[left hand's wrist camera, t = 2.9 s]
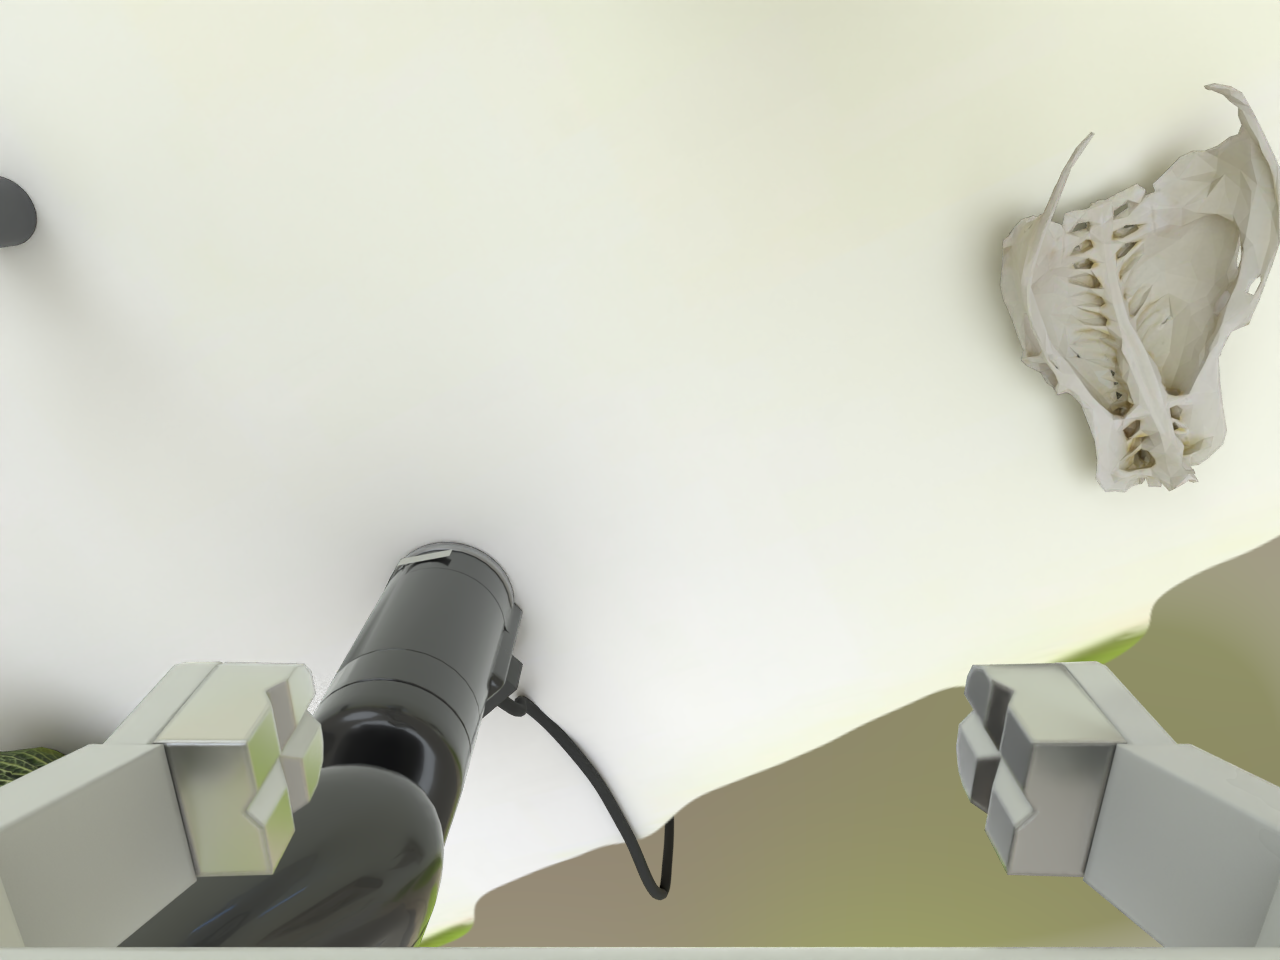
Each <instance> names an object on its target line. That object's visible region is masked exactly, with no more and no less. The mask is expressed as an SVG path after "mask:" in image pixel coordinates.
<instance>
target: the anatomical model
mask: <svg viewBox="0 0 1280 960" xmlns="http://www.w3.org/2000/svg"><path fill="white" fill-rule="evenodd" d="M1204 87H1205V88H1206V89H1208V90H1213V91H1215V92H1218V93H1220V94H1223V95H1224V96H1225V97H1226V98H1227V99H1228V100H1229V101H1230V102H1231V103H1233V104H1234V105H1236V106H1237V107H1238V116H1239V119H1240V122H1241V124H1242V125H1241V128H1240V130H1239V133H1238V135H1235V136H1231V137H1229V138H1228V139H1226V140H1225V141H1224V142H1222V143H1221V144H1219V145H1218V146H1216V147H1213V148H1211V149H1208V150H1206V151H1191V152H1189V153H1187V154H1185V155H1183V156H1181V157H1179V158H1178V159H1177V160H1176V161H1175V162H1174V163H1173V165H1172V166H1171V167H1170V168H1169V169H1168V170H1167V171H1166V172H1165V173H1163V174H1162V175H1161V176H1160V177H1159V178H1158V179H1157V180H1156V181H1155V182H1154V183H1153V187H1154V190H1155V192H1153V193H1150V194H1147V195H1145V191H1146V190H1145V189H1144V188H1142V187H1141V186H1139V185H1138V184H1135V185H1133V186H1131V187H1129V188H1127V189H1125V190H1123V191H1121V192H1119V193H1117V194H1115V195H1113V196H1111V197H1110V198H1108V199H1106V200H1098V201H1097V202H1095V203H1091V204H1090V206H1089V208H1087V209H1083V210H1075V211H1070V212H1068V213H1065V215H1064V220H1063V224H1062V225H1061V224H1058V223H1055V222H1052V221H1051V219H1052V217H1053V214H1054V212H1055V209H1056V206H1057V204H1058V201H1059V198H1060V196H1061V193H1062V191H1063V188H1064V186H1065V183H1066V180H1067V178H1068V175H1069V173H1070V170H1071V168H1072V167H1073V165H1074V164H1075V162H1076V161H1077V159H1078V158H1079V156H1080V155H1081V153H1082V152H1083V150H1084V149H1085V147H1086V146H1087V144H1088V143H1089V141H1090V140H1091V138H1092V137H1093V135H1094V133H1092V132H1091V133H1090V134H1089V135H1088V136H1087V137H1086V138H1085V139H1084V140H1083V141H1082V142H1081V143H1080V144H1079V145H1078V147H1077V148H1076V149H1075V151H1074V152H1073V154H1072V156H1071V157H1070V159H1069V161H1068V163H1067V164H1066V166H1065V168H1064V169H1063V171H1062V173H1061V175H1060V178H1059V180H1058V182H1057V184H1056V186H1055V187H1054V190H1053V192H1052V195H1051V197H1050V200H1049V202H1048V204H1047V207H1046V209H1045V211H1044V213H1043V214H1042V215H1041V214H1040V215H1039V216H1038V217H1036V216H1030V217H1027V218H1024V219H1021V220H1020V221H1019V223H1018V224H1017V225H1016V226H1015V227H1014V228H1013V230H1012V231H1011V232H1010V235H1009V236H1008V237H1007V238H1006V239H1004V240H1003V253H1002V274H1001V280H1000V287H1001V291H1002V296H1003V300H1004V302H1005V305H1006V307H1007V309H1008V311H1009V314H1010V316H1011V319H1012V321H1013V324H1014V327H1015V330H1016V332H1017V335H1018V338H1019V341H1020V344H1021V346H1022V349H1023V353H1022V358H1021V361H1022V362H1023V363H1024V364H1025V365H1027V366H1028V367H1030V368H1033V369H1035V370H1037V371H1039V372H1040V373H1041V374H1042V376H1043V377H1044V379H1045V381H1046V382H1047V383H1048V384H1049V385H1051V386H1052V387H1053V388H1054V390H1055V392H1056V394H1057V395H1059V394H1062V393H1065V392H1066V393H1069V394H1071V395H1072V396H1073V397H1074V398H1075V399H1076V400H1077V401H1078V402H1079V403H1080V404H1081V406H1082V409H1083V411H1084V414H1085V417H1086V419H1087V422H1088V424H1089V427H1090V430H1091V432H1092V435H1093V438H1094V441H1095V449H1096V457H1097V470H1096V480H1097V482H1098V483H1099V484H1100V486H1101V487H1102V488H1103V490H1104V491H1105V492H1110V491H1118V492H1126V491H1127V490H1128V489H1129V488H1130V487H1131V486H1134V485H1137V484H1142V483H1143V481H1144V480H1145V478H1146V479H1147V483H1148V486H1151V487H1161V485H1162V484H1163V485H1164V486H1165V487H1166V488H1167V489H1168V490H1169V491H1171V490H1173V489H1175V488H1177V487H1179V486H1180V485H1182V484H1184V483H1186V482H1188V481H1190V482H1193V483H1194V482H1198V480H1197V478H1196V477H1195V475H1194V474H1195V472H1194V470H1193V469H1192V468H1191V465H1199V464H1200V463H1202V462H1203V461H1205V460H1206V459H1208V458H1209V457H1210V456H1211V455H1212V454H1213V453H1214V452H1215V451H1216V450H1218V449H1219V448H1220V447H1221V446H1222V445H1223V443H1224V439H1225V436H1226V432H1227V428H1226V422H1225V416H1224V410H1223V403H1222V394H1221V385H1220V374H1219V356H1220V355H1221V351H1222V349H1223V347H1224V345H1225V343H1226V341H1227V339H1228V337H1229V335H1230V333H1231V332H1232V331H1234V330H1237V329H1239V328H1241V327H1243V326H1246V325H1248V324H1249V323H1250V320H1251V318H1252V315H1253V313H1254V310H1255V308H1256V306H1257V304H1258V302H1259V299H1260V297H1261V294H1262V291H1263V289H1264V286H1265V283H1266V280H1267V278H1268V275H1269V272H1270V270H1271V267H1272V264H1273V261H1274V258H1275V255H1276V252H1277V249H1278V246H1279V244H1280V166H1279V165H1278V163H1277V160H1276V158H1275V156H1274V154H1273V152H1272V150H1271V148H1270V146H1269V143H1268V141H1267V139H1266V137H1265V135H1264V133H1263V131H1262V129H1261V127H1260V125H1259V123H1258V121H1257V119H1256V117H1255V115H1254V113H1253V111H1252V109H1251V107H1250V106H1249V104H1248V102H1247V100H1246V99H1245V97H1244V95H1243V94H1242V92H1240V91H1238V90H1236V89H1235V88H1233V87H1231V86H1226V85H1221V84H1215V83H1213V84H1210V85H1206V86H1204ZM1126 203H1127V204H1128V208H1126V209H1125V210H1123V211H1122V212H1121V213H1119V214H1118V215H1116V216H1114V210H1116V209H1118V208H1119V207H1121V206H1123V205H1125V204H1126ZM1084 222H1086V226H1087V228H1084V229H1081V230H1078V231H1074V232H1072V231H1073V230H1074V228H1075V227H1076V225H1077V224H1078V223H1084ZM1125 225H1133V226H1131V227H1127V228H1124V226H1125ZM1240 242H1241V261H1240V264H1239V267H1237V257H1238V252H1239V247H1240ZM1126 243H1127V244H1126ZM1077 246H1078V247H1077ZM1075 247H1077V248H1075ZM1259 276H1260V277H1261V282H1260V284H1259V286H1258V288H1257V290H1256V292H1255V294H1254V295H1252V294H1249V293H1248V291H1249V288H1250V285H1251V283H1252V282H1253V281H1254V280H1255V279H1256V278H1258V277H1259ZM1166 320H1167V321H1166ZM1165 321H1166V323H1164V322H1165ZM1162 323H1164V324H1162ZM1161 324H1162V325H1161ZM1077 355H1079V357H1080V358H1078V357H1077ZM1111 371H1113V372H1115V373H1114V376H1112V373H1111ZM1114 382H1116V383H1118V384H1116V385H1115V384H1114ZM1116 392H1118V393H1120V394H1122V396H1121V397H1120V398H1119V399H1118V400H1117V395H1116Z"/></svg>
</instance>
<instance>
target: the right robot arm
mask: <svg viewBox="0 0 1280 960" xmlns="http://www.w3.org/2000/svg"><path fill="white" fill-rule="evenodd" d="M521 617H522V610H521V609H520V608H518V607H517V606H516V605H515V603H514V596H513V590H512V587H511V584H510V582H509V579H508V577H507V576H506V574H505V572H504V571H503V570H502V568H501V567H500V566H499V565H498V564H497V563H496V562H495V561H494V560H493V559H492V558H490V557H489V556H488V555H486V554H485V553H483V552H481V551H479V550H477V549H475V548H473V547H470V546H467V545H463V544H458V543H448V542H447V543H434V544H430V545H426V546H423V547H421V548H418V549H416V550H415V551H413V552H411V553H410V554H408V555H407V556H406V557H405V558H403V559H401V560H400V562H399V563H398V566H397V567H396V569H395V570H394V572H393V574H392V576H391V577H390V579H389V582H388V584H387V586H386V588H385V590H384V592H383V594H382V595H381V597H380V599H379V601H378V602H377V604H376V606H375V608H374V609H373V611H372V613H371V615H370V616H369V618H368V620H367V621H366V623H365V625H364V627H363V628H362V630H361V632H360V634H359V635H358V637H357V639H356V641H355V642H354V644H353V646H352V648H351V649H350V651H349V653H348V655H347V656H346V658H345V660H344V661H343V663H342V665H341V667H340V668H339V670H338V672H337V674H336V675H335V677H334V679H333V681H332V682H331V684H330V686H329V688H328V689H327V691H326V693H325V695H324V696H323V698H322V700H321V702H320V703H319V705H318V707H317V709H316V710H315V712H314V714H313V715H312V716H313V717H314V718H315V719H316V720H317V721H318V722H319V723H320V724H321V729H322V735H323V764H322V768H321V773H320V778H319V782H318V785H317V787H316V790H315V792H314V794H313V796H312V798H311V800H310V802H309V803H308V804H306V805H305V806H303V807H302V808H301V809H299V810H298V811H296V812H295V813H293V820H294V826H295V832H294V834H293V836H292V838H291V840H290V842H289V844H288V846H287V848H286V850H285V852H284V853H283V855H282V857H281V859H280V861H279V863H278V865H277V867H276V869H275V871H274V873H273V875H245V876H210V877H196V879H197V881H196V882H195V883H194V884H192V885H191V886H190V887H189V888H187V889H186V890H185V891H184V892H183V893H181V894H180V895H179V896H178V897H177V898H175V899H174V900H173V901H172V902H170V903H169V904H168V905H167V906H166V907H164V908H163V909H162V910H161V911H159V912H158V913H157V914H156V915H155V916H153V917H152V918H151V919H150V920H149V921H147V922H146V923H145V924H144V925H142V926H141V927H140V928H139V929H138V930H136V931H135V932H134V933H133V934H132V935H130V936H129V937H128V938H127V939H125V940H124V941H123V942H122V943H121V944H119V945H118V946H117V947H419V945H420V942H421V940H422V937H423V935H424V932H425V929H426V927H427V924H428V922H429V919H430V916H431V914H432V911H433V908H434V905H435V902H436V898H437V894H438V891H439V887H440V882H441V877H442V869H443V854H444V846H445V842H446V839H447V836H448V833H449V830H450V827H451V824H452V821H453V818H454V815H455V812H456V809H457V806H458V803H459V800H460V797H461V794H462V790H463V786H464V783H465V779H466V775H467V771H468V768H469V764H470V760H471V757H472V753H473V749H474V746H475V742H476V738H477V735H478V731H479V727H480V723H481V720H482V718H483V717H484V716H486V715H487V714H488V713H489V712H490V711H492V710H493V709H494V708H495V707H496V706H498V707H500V708H501V709H503V710H504V711H506V712H508V713H509V714H511V715H513V716H518V717H521V716H523V715H525V713H527V714H529V715H530V716H531V717H533V718H534V719H535V720H536V721H537V722H538V723H539V724H540V725H542V726H543V727H544V728H545V729H546V730H547V731H548V732H549V733H550V734H551V736H552V737H553V738H554V739H555V740H556V741H557V742H558V743H559V744H560V745H561V746H562V748H563V749H564V750H565V751H566V752H567V753H568V755H569V756H570V757H571V758H572V759H573V760H574V762H575V763H576V764H577V765H578V767H579V768H580V769H581V770H582V772H583V773H584V774H585V775H586V777H587V778H588V779H589V781H590V782H591V784H592V785H593V786H594V788H595V789H596V791H597V793H598V794H599V796H600V797H601V799H602V801H603V803H604V804H605V806H606V808H607V810H608V811H609V813H610V815H611V817H612V819H613V821H614V822H615V824H616V826H617V828H618V830H619V831H620V833H621V835H622V837H623V839H624V840H625V843H626V845H627V847H628V849H629V851H630V854H631V856H632V858H633V861H634V863H635V866H636V868H637V870H638V873H639V875H640V878H641V880H642V882H643V884H644V886H645V887H646V889H647V891H648V892H649V894H650V895H651V896H652V897H653V898H655V899H658V900H662V899H664V898H666V897H667V895H668V893H669V890H670V885H671V875H672V861H673V847H674V816H673V817H671V819H669V821H667V822H666V823H665V833H664V849H663V860H662V871H661V882H660V887H658V886H657V885H656V883H655V881H654V879H653V877H652V875H651V873H650V871H649V868H648V866H647V863H646V861H645V858H644V856H643V854H642V851H641V849H640V847H639V844H638V842H637V840H636V838H635V836H634V834H633V832H632V830H631V828H630V826H629V825H628V823H627V821H626V819H625V817H624V816H623V814H622V812H621V810H620V808H619V806H618V805H617V803H616V801H615V799H614V797H613V796H612V794H611V792H610V791H609V789H608V787H607V786H606V784H605V783H604V781H603V780H602V778H601V777H600V775H599V774H598V772H597V771H596V770H595V768H594V767H593V766H592V764H591V763H590V762H589V761H588V759H587V758H586V757H585V756H584V754H583V753H582V752H581V751H580V750H579V748H578V747H577V746H576V745H575V744H574V742H573V741H572V740H571V739H570V738H569V737H568V736H567V735H566V733H565V732H564V731H563V730H562V729H561V728H560V727H559V726H558V725H557V724H556V723H554V722H553V721H552V720H551V719H550V718H549V717H547V716H546V715H545V714H544V713H543V712H542V711H541V710H540V709H539V708H538V707H537V706H536V705H535V704H534V703H533V702H531V701H530V700H529V699H527V698H525V697H521V696H519V697H517V698H516V699H515V701H513V700H512V699H510V698H509V697H508V696H509V695H511V694H512V693H513V692H514V691H515V690H517V687H518V683H519V679H520V674H521V670H522V665H523V664H522V663H521V662H520V661H519V660H517V659H516V658H515V657H514V656H513V655H512V653H513V649H514V645H515V641H516V637H517V633H518V629H519V625H520V621H521Z"/></svg>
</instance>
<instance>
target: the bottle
mask: <svg viewBox="0 0 1280 960" xmlns="http://www.w3.org/2000/svg"><path fill="white" fill-rule="evenodd" d="M35 227H36V212H35V209H34V206H33V203H32V201H31V200H30V198H29V196H28V195H27V194H26V193H25V191H24V190H23V189H22V188H21V187H19V186H18V185H17V184H15V183H14V182H12V181H11V180H9V179H6V178H4V177H0V248H1V247H8V246H14V245H19V244H21V243H24V242H25V241H27V240H28V239H29V238H30V237H31V235H32V234H33V232H34V230H35Z"/></svg>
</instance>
